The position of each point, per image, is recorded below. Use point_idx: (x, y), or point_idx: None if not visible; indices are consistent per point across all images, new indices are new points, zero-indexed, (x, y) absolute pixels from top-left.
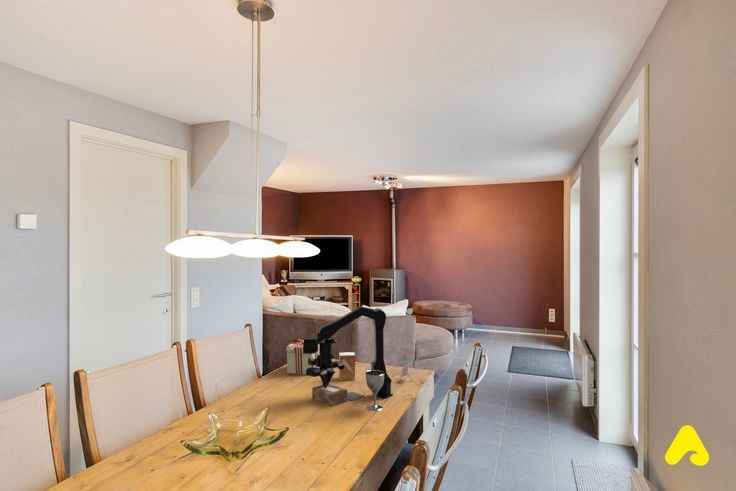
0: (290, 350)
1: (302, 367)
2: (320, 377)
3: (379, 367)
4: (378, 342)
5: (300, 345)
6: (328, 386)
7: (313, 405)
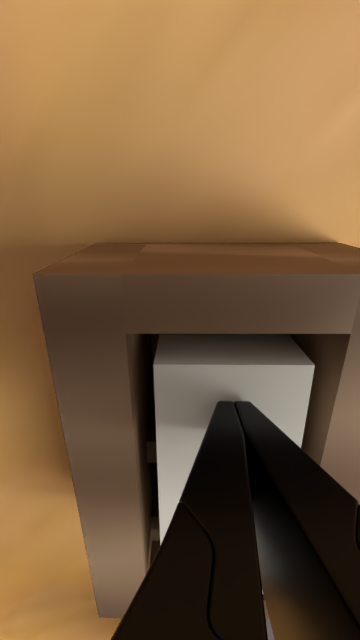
0: None
1: None
2: (118, 630)
3: None
4: None
5: None
6: (329, 383)
7: (12, 384)
